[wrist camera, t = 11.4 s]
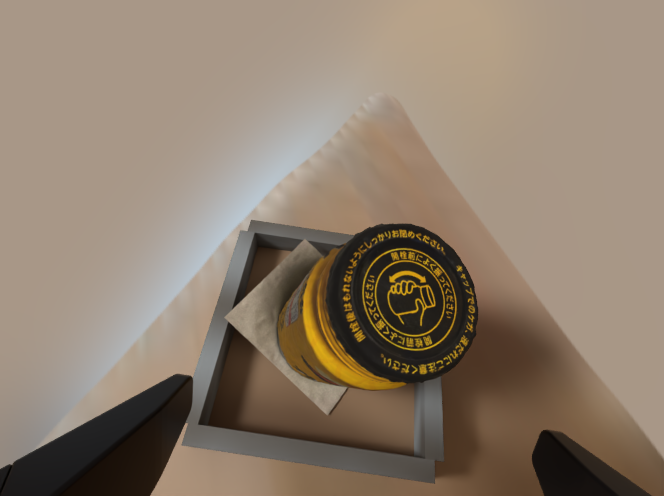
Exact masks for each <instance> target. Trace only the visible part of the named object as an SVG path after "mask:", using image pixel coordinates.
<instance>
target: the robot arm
mask: <svg viewBox="0 0 664 496" xmlns="http://www.w3.org/2000/svg"><path fill="white" fill-rule="evenodd" d="M192 402H193V378H192V377H191V376H189V375H182V374H175V375H173V376H171V377H169V378H167V379H166V380H164V381H162V382H160V383H158V384H156V385H154V386H153V387H151V388H149V389H147V390H145V391H143V392H142V393H140V394H138V395H136V396H134V397H132V398H131V399H129V400H127V401H125V402H123V403H121V404H119V405H118V406H116V407H114V408H112V409H110V410H108V411H107V412H105V413H103V414H101V415H99V416H97V417H95V418H94V419H92V420H90V421H88V422H86V423H84V424H83V425H81V426H79V427H77V428H75V429H73V430H72V431H70V432H68V433H66V434H64V435H62V436H60V437H59V438H57V439H55V440H53V441H51V442H49V443H48V444H46V445H44V446H42V447H40V448H38V449H36V450H35V451H33V452H31V453H29V454H27V455H25V456H24V457H22V458H20V459H18V460H16V461H15V462H14V463H13V465H10V464H9V465H7V466H5V467H3V468H1V469H0V496H150V495H151V493H152V491H153V490H154V488H155V486H156V484H157V482H158V481H159V479H160V477H161V475H162V473H163V471H164V469H165V467H166V465H167V462H168V460H169V458H170V456H171V454H172V451H173V449H174V447H175V445H176V442H177V440H178V438H179V436H180V434H181V431H182V429H183V427H184V425H185V423H186V420H187V418H188V416H189V414H190V411H191V408H192ZM532 463H533V467H534V469H535V472H536V475H537V477H538V480H539V483H540V485H541V488H542V491H543V493H544V496H651V495H650V494H649V493H647V492H646V491H644V490H643V489H641V488H640V487H639V486H637V485H636V484H634V483H633V482H631V481H630V480H629V479H627V478H626V477H624V476H623V475H622V474H620V473H619V472H617V471H616V470H614V469H613V468H612V467H610V466H609V465H607V464H606V463H604V462H603V461H602V460H600V459H599V458H597V457H596V456H595V455H593V454H592V453H590V452H589V451H587V450H586V449H585V448H583V447H582V446H580V445H579V444H577V443H576V442H575V441H573V440H572V439H570V438H569V437H568V436H566V435H565V434H563V433H561V432H558V431H552V430H543V431H542V432H541V433H540V435H539V438H538V441H537V443H536V446H535V448H534V451H533V454H532Z"/></svg>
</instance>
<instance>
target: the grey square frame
mask: <svg viewBox="0 0 664 496" xmlns="http://www.w3.org/2000/svg"><path fill="white" fill-rule="evenodd" d="M354 236H355V235H348V234H341V233H335V232H328V231H322V230H315V229H308V228H302V227H295V226H288V225H282V224H275V223H269V222H262V221H255V220H251V222H250V225H249V229H248V231H240V234H239V237H238V240H237V243H236V246H235V249H234V252H233V255H232V259H231V262H230V265H229V268H228V271H227V274H226V277H225V280H224V283H223V286H222V290H221V293H220V296H219V299H218V302H217V305H216V308H215V311H214V314H213V317H212V321H211V324H210V327H209V330H208V333H207V336H206V339H205V342H204V345H203V348H202V351H201V355H200V358H199V361H198V364H197V367H196V370H195V373H194V376H193V402H192V408H191V411H190V414H189V416H188V418H187V420H186V423H188V426H187V429H186V432H185V435H184V439H183V442H182V445H183V446H189V447H196V448H203V449H209V450H216V451H222V452H229V453H236V454H242V455H249V456H255V457H262V458H269V459H275V460H282V461H289V462H295V463H302V464H308V465H315V466H322V467H328V468H335V469H341V470H348V471H355V472H361V473H368V474H374V475H381V476H388V477H394V478H401V479H408V480H414V481H421V482H427V483H434V484H435V460H436V461H442V462H444V443H443V414H442V385H441V376H440V377H438V378H436V379H433V380H428V381H424V382H423V383H420V382H416V383H408V384H406V385H404V386H402V387H399V388H394V389H389V390H380V391H370V390H361V389H354V388H348V387H347V389H346V390H345V392H344V393H343V394H342V396H341V397H340V399H339V400H338V402H337V403H336V404H335V406H334V407H333V408H332V410H331V411H330V413H329V414H328V416H327V415H326V414H325V413H324V412H323V411H322V410H321V409H320V408H319V407H318V406H317V405H316V404H315V403H314V402H312V401H311V400H310V399H309V398H308V397H307V396H306V395H305V394H304V393H303V392H302V391H301V390H300V389H299V388H298V387H297V386H296V385H295V384H294V383H293V382H291V381H290V380H289V379H288V378H287V377H286V376H285V375H284V374H283V373H282V372H281V371H280V370H279V369H278V368H277V367H276V366H275V365H274V364H273V363H272V362H271V361H270V360H268V359H267V358H266V357H265V356H264V355H263V354H262V353H261V352H260V351H259V350H258V349H257V348H256V347H255V346H254V345H253V344H252V343H251V342H250V341H249V340H248V339H246V338H245V337H244V336H243V335H242V334H241V333H240V332H239V331H238V330H237V329H236V328H235V327H234V326H233V325H232V324H231V323H230V322H229V321H227V320H226V319H225V318H224V317H225V316H226V315H227V314H228V313H229V312H230V311H231V310H232V309H234V308H235V307H236V306H237V305H238V304H239V303H240V302H241V301H242V300H243V299H244V298H245V297H246V296H247V295H248V294H249V293H250V292H251V291H252V290H253V289H254V288H255V287H256V286H257V285H258V284H260V283H261V282H262V280H263V279H264V278H266V277H267V276H268V275H269V274H270V273H271V272H272V271H273V270H274V269H275V268H276V267H277V266H278V265H279V264H280V263H281V262H282V261H283V260H284V259H285V258H286V257H287V256H288V255H289V254H290V253H291V252H292V251H293V250H294V249H295V248H296V247H297V246H298V245H299V244H300V243H301V242H302V241H303V240H304V239H306V240H307V241H308V242H309V243H310V244H311V245H312V246H313V247H315V248H316V249H317V251H318V252H319V253H320V254H321V255H322V256H324V255H325V254H326V253H328V252H329V251H331V250H332V249H333V248H335V247H336V246H340V245H342V244H344V243H347V242H348V241H349V240H351V239H352V238H353V237H354Z"/></svg>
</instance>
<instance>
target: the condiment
mask: <svg viewBox="0 0 664 496" xmlns="http://www.w3.org/2000/svg"><path fill="white" fill-rule="evenodd" d="M224 318H225V319H226V320H227V321H229V322H230V323H231V324H232V325H233V326H234V327H235V328H236V329H237V330H238V331H239V332H240V333H241V334H242V335H243V336H244V337H245V338H246V339H248V340H249V341H250V342H251V343H252V344H253V345H254V346H255V347H256V348H257V349H258V350H259V351H260V352H261V353H262V354H263V355H264V356H265V357H266V358H267V359H268V360H270V361H271V362H272V363H273V364H274V365H275V366H276V367H277V368H278V369H279V370H280V371H281V372H282V373H283V374H284V375H285V376H286V377H287V378H288V379H289V380H290V381H291V382H293V383H294V384H295V385H296V386H297V387H298V388H299V389H300V390H301V391H302V392H303V393H304V394H305V395H306V396H307V397H308V398H309V399H310V400H311V401H312V402H314V403H315V404H316V405H317V406H318V407H319V408H320V409H321V410H322V411H323V412H324V413H325V414H326V415H327V416H328V414H329V413H330V411H331V410H332V408H333V407H334V406H335V404H336V403H337V402H338V400H339V399H340V397H341V396H342V394H343V393H344V392H345V390H346V389H347V387H348V388H354V389H361V390H370V391H380V390H389V389H394V388H399V387H402V386H404V385H406V384H408V383H416V382H420V383H423V382H424V381H428V380H433V379H436V378H438V377H440V376H442V375H443V374H445V373H446V372H448V371H450V370H451V369H452V368H454V367H455V366H456V365H457V364H458V363H459V361H460V360H461V359H462V358H463V356H464V354H465V353H466V351H467V350H468V349H469V347H470V346H471V344H472V341H473V338H474V337H475V335H476V324H477V320H478V306H477V300H476V294H475V290H474V284H473V281H472V279H471V277H470V275H469V273H468V271H467V269H466V267H465V266H464V264H463V263H462V261H461V259H460V257H459V256H458V255H457V254H456V252H455V250H454V249H452V248H451V247H450V246H449V245H448V244H447V243H445V242H444V241H443V240H442V239H441V238H440V237H439V236H437V235H436V234H434V233H432V232H430V231H428V230H427V229H425V228H423V227H419V226H415V225H412V224H385V225H384V224H380V225H376V226H374V227H372V228H371V227H369V228H367V229H365V230H364V231H362V232H361V233H357V234H355V236H354V237H353V238H352V239H351V240H349V241H348V242H347V243H344V244H342V245H340V246H336V247H335V248H333V249H332V250H331V251H329V252H328V253H326V254H325V255H324V256H322V255H321V254H320V253H319V252H318V251H317V249H316V248H315V247H313V246H312V245H311V244H310V243H309V242H308V241H307V240H306V239H304V240H303V241H302V242H301V243H300V244H299V245H298V246H297V247H296V248H295V249H294V250H293V251H292V252H291V253H290V254H289V255H288V256H287V257H286V258H285V259H284V260H283V261H282V262H281V263H280V264H279V265H278V266H277V267H276V268H275V269H274V270H273V271H272V272H271V273H270V274H269V275H268V276H267V277H266V278H264V279H263V280H262V282H261V283H260V284H258V285H257V286H256V287H255V288H254V289H253V290H252V291H251V292H250V293H249V294H248V295H247V296H246V297H245V298H244V299H243V300H242V301H241V302H240V303H239V304H238V305H237V306H236V307H235V308H234V309H232V310H231V311H230V312H229V313H228V314H227V315H226V316H225V317H224Z"/></svg>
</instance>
